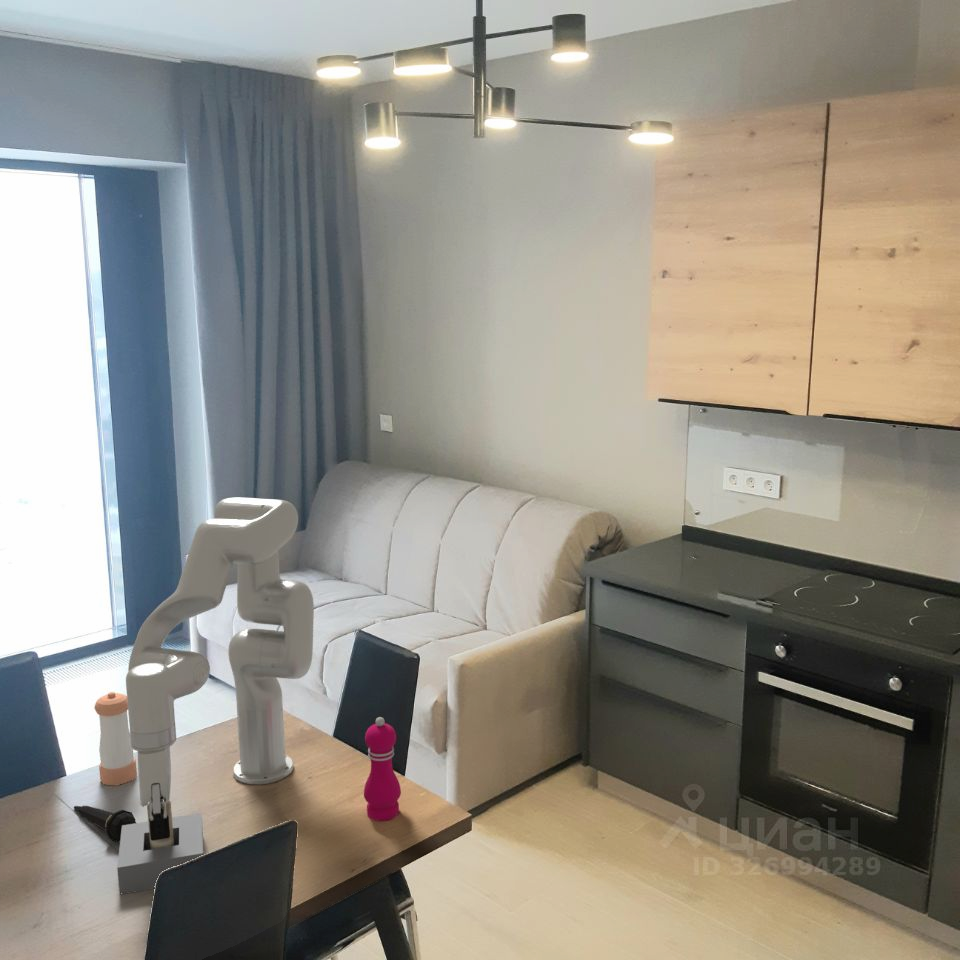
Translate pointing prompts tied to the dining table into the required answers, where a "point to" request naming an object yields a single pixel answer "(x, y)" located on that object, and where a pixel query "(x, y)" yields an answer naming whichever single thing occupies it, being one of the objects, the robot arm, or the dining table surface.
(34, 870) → the dining table surface
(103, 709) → the salt shaker
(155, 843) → the peg
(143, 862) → the socket block
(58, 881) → the dining table surface
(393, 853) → the dining table surface
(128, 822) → the microphone
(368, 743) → the pepper mill
